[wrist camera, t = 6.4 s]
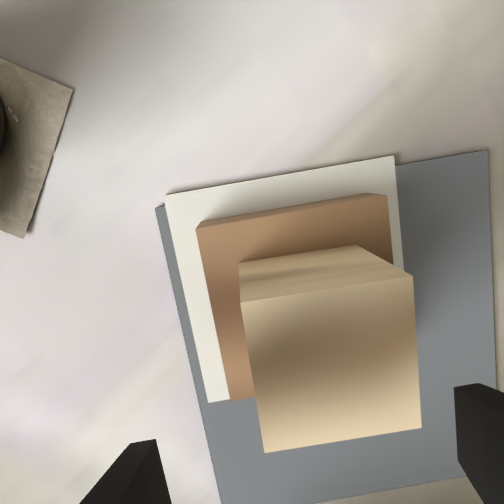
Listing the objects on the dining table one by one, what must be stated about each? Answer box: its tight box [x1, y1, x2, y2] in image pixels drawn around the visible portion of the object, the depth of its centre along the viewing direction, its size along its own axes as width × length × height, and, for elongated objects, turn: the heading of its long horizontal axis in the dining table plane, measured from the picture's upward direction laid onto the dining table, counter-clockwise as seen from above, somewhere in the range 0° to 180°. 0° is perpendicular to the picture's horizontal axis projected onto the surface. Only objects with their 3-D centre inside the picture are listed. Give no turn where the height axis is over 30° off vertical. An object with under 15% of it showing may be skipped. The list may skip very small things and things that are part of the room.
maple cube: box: [239, 245, 422, 453], centre depth 13 cm, size 5×5×5 cm
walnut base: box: [195, 193, 394, 401], centre depth 17 cm, size 8×8×2 cm
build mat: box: [155, 150, 496, 504], centre depth 19 cm, size 18×16×1 cm
